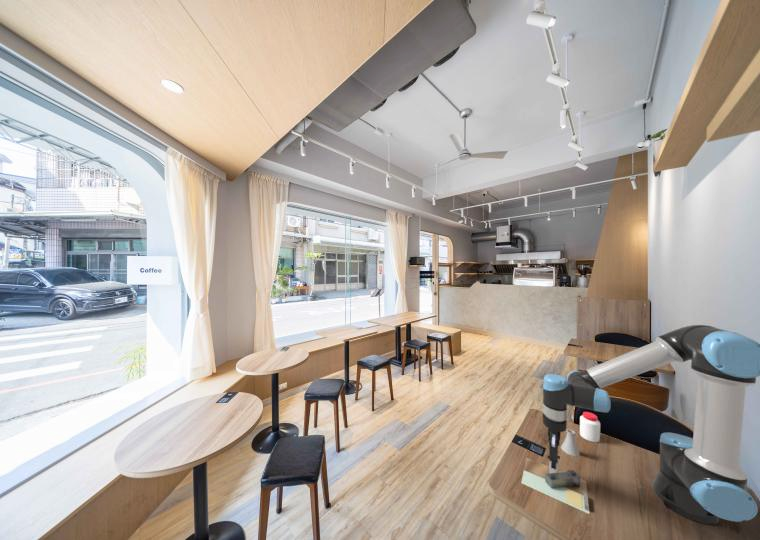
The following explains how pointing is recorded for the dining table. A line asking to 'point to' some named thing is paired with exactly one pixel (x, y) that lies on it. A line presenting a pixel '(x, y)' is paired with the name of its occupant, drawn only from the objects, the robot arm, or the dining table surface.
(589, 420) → the pill bottle
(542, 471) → the board
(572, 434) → the flask
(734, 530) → the dining table surface
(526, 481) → the door panel
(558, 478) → the latch bar
